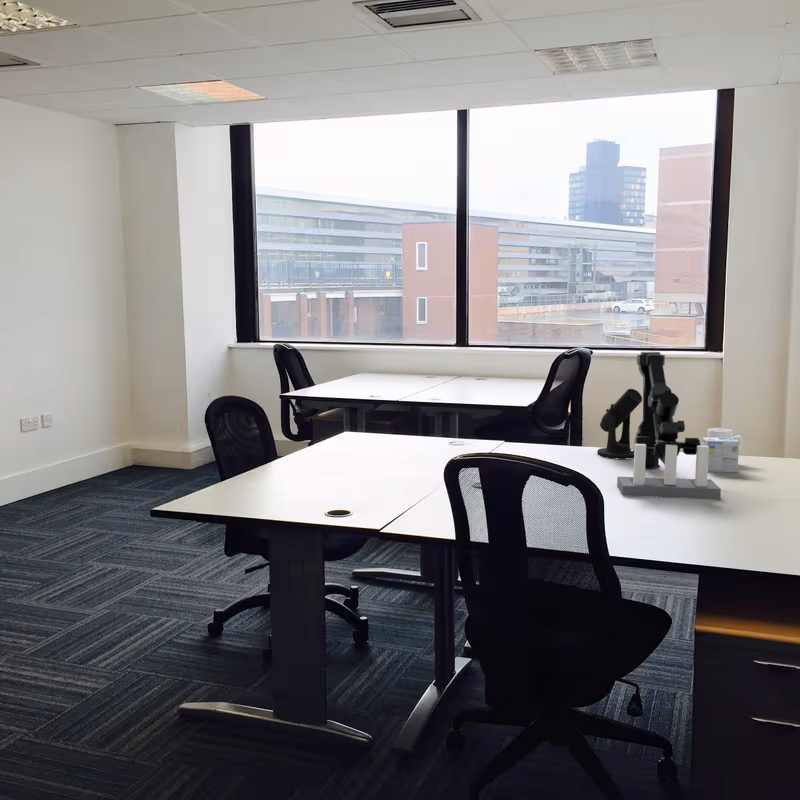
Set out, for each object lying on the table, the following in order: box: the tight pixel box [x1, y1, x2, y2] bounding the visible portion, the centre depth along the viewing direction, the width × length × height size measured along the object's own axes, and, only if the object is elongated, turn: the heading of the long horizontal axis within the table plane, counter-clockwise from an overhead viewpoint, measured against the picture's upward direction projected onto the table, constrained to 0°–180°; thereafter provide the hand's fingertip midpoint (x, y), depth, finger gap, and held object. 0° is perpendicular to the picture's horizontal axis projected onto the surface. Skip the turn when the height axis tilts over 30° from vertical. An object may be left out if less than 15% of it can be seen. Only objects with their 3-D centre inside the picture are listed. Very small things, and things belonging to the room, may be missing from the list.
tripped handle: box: [663, 445, 678, 485], centre depth 249 cm, size 2×3×12 cm, turn 83°
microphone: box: [597, 388, 643, 460], centre depth 305 cm, size 15×17×25 cm
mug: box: [706, 427, 744, 451], centre depth 295 cm, size 12×8×11 cm
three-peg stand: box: [616, 444, 722, 500], centre depth 252 cm, size 12×28×15 cm, turn 83°
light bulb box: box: [701, 437, 740, 473], centre depth 283 cm, size 11×7×11 cm, turn 84°
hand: (669, 468), depth 251 cm, fingers closed
